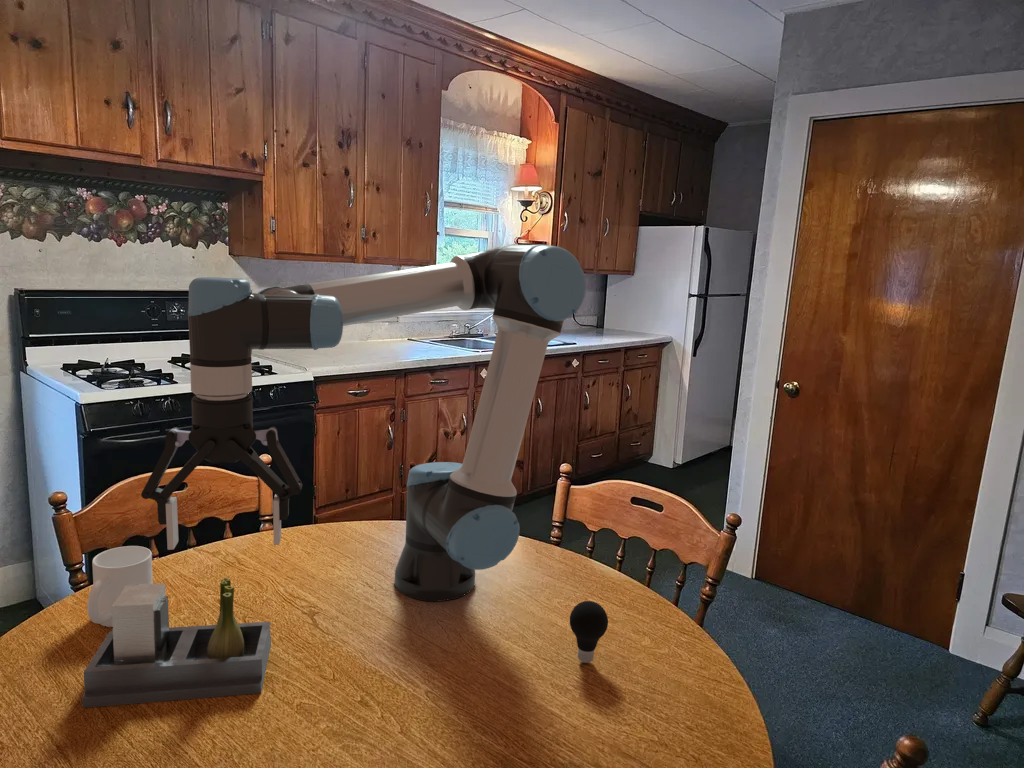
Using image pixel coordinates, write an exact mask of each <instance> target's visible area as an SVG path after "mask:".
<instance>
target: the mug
mask: <svg viewBox="0 0 1024 768" xmlns="http://www.w3.org/2000/svg"><path fill="white" fill-rule="evenodd" d="M91 566H92V580H93V581H92V583H93V584H92V586H91V589H90V591H89V594H88V597H87V605H86V608H87V609H86V610H87V616H88V618H89V620H90V621H91V622H92V623H94V624H100V625H101V626H102V627H105V626H106V627H105V628H111V627H113V623H112V605H113V604H114V602H115V601H116V599H117V598H118V596H119V595H120V593H121V592H122V591H123V589H124V588H125V586H126V585H140V584H154V582H153V580H154V579H153V578H154V577H153V553H152V551H151V550H150V549H149V548H147V547H146V546H145V547H144V546H139V545H127V546H119V547H114V548H110V549H107V550H104V551H102V552H100V553H98V554H97V555H95V556H94V557H93V558H92V565H91Z"/></svg>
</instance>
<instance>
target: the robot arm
mask: <svg viewBox="0 0 1024 768" xmlns="http://www.w3.org/2000/svg"><path fill="white" fill-rule="evenodd" d="M586 284H587V283H586V276H585V273H584V270H583V269H582V267H581V264H580V262H579V260H578V259H577V258H576V256H574V254H572V253H571V251H569V250H567V249H565V248H563V247H560V246H557V245H555V246H554V245H549V244H545V243H540V244H505V245H499V246H495V247H492V248H489V249H485V250H480V251H477V252H473V253H472V252H471V253H467V254H460V255H455V256H453V257H452V258H451V260H450V261H449V262H446V263H439V264H433V265H426V266H420V267H413V268H407V269H399V270H393V271H386V272H379V273H374V274H373V273H372V274H366V275H359V276H353V277H346V278H338V279H333V280H327V281H326V280H325V281H319V282H311V283H308V284H300V285H293V286H287V287H286V286H285V287H280V286H271V287H266V288H264V289H261V290H260V291H258V292H255V293H254V292H253V290H252V288H251V283H250V282H249V280H248V279H245V278H239V277H238V278H235V277H219V276H218V277H217V276H214V277H213V276H208V277H206V276H205V277H204V276H203V277H196V278H194V279H192V281H190V283H189V285H188V310H187V318H188V338H189V340H188V341H189V358H190V359H189V360H190V362H189V367H190V391H191V393H193V394H194V395H193V397H192V398H191V401H190V402H191V425H192V427H191V430H183V429H182V430H181V429H180V427H177V426H176V427H175V426H174V427H172V428H171V429H170V430H168V432H167V433H166V435H165V444H164V449H163V451H162V452H161V455H160V457H159V459H158V461H157V463H156V464H155V467H154V469H153V470H152V472H151V474H150V475H149V477H148V480H147V482H146V483H145V486H144V488H143V489H142V491H141V494H140V495H141V496H140V497H142V499H144V500H148V499H150V500H153V501H155V502H156V503H157V505H156V506H157V520H158V521H157V522H158V523H159V525H166V542H167V544H166V545H167V550H169V551H170V550H175V548H176V547H177V545H178V543H179V522H178V520H179V518H178V500H177V499H178V497H177V496H172V495H173V493H174V492H175V491H177V489H178V488H179V487H180V486H181V485H182V483H184V481H185V480H186V479H187V478H188V477H189V476H190V475H191V473H192V472H194V470H195V469H196V468H197V467H198V466H199V465H200V464H201V463H202V462H203V460H206V461H207V462H209V463H210V464H219V463H222V462H223V463H228V464H235V463H237V462H239V461H241V462H242V463H243V464H244V465H245V466H246V467H248V468H250V470H251V471H253V473H254V474H255V475H256V476H257V477H258V478H259V479H260V480H261V481H262V482H263V483H264V484H265V485H266V487H268V488H269V489H270V490H271V492H273V493H274V498H273V500H272V511H273V512H272V514H273V519H272V520H273V521H272V522H273V524H272V525H273V527H272V528H273V532H272V533H273V546H279V545H280V544H281V539H282V521H287V520H288V518H289V515H290V498H291V497H293V496H296V495H297V496H298V495H300V494H301V492H302V489H303V483H302V481H301V479H300V477H299V475H298V474H297V472H296V470H295V468H294V466H293V465H292V463H291V461H290V459H289V457H288V456H287V454H286V452H285V450H284V448H283V447H282V445H281V443H280V441H279V434H278V429H277V427H275V426H270V427H269V428H268V429H259V430H258V429H257V430H256V429H255V426H254V421H253V420H254V419H253V418H254V416H253V414H254V413H253V397H252V395H251V394H250V392H252V390H253V376H252V375H253V370H252V369H253V368H252V365H253V364H252V353H253V350H259V351H260V350H310V349H311V350H313V351H318V349H330V348H335V347H337V346H338V345H339V344H340V342H341V340H342V336H343V333H344V332H343V331H344V327H345V326H350V325H356V324H357V325H358V324H363V323H368V322H374V321H379V320H380V321H381V320H385V319H390V318H397V317H402V316H408V315H414V314H419V313H425V312H430V311H436V310H442V309H447V308H453V307H458V308H459V309H460V310H462V311H468V310H474V309H475V310H476V309H489V310H490V309H492V310H493V313H492V317H491V318H492V319H493V321H494V323H495V324H496V325H495V326H496V327H497V332H496V333H497V334H496V338H495V342H494V345H493V349H492V353H491V356H490V359H489V363H488V367H487V371H486V375H485V379H484V381H483V382H484V383H483V386H482V390H481V394H480V398H479V401H478V403H477V404H478V405H477V409H476V411H475V416H474V420H473V423H472V427H471V430H470V435H469V439H468V443H467V445H466V450H465V454H464V456H463V457H464V458H463V461H462V463H460V462H453V461H452V462H450V461H445V462H444V461H435V462H426V463H420V464H417V465H415V466H413V467H412V468H410V469H409V471H408V477H407V483H406V512H405V513H406V516H405V542H404V547H403V549H402V551H401V553H400V557H399V558H398V562H397V565H396V567H395V570H394V586H395V588H396V589H397V590H398V591H399V592H400V593H401V594H403V595H405V596H407V597H410V598H411V599H415V600H419V599H420V601H426V600H429V601H428V602H439V601H438V600H445V601H448V600H447V599H451V600H455V599H458V597H459V598H461V597H463V596H462V595H464V594H465V595H467V594H468V593H467V592H469V591H470V590H471V589H472V588H473V589H474V587H475V585H476V584H475V582H476V571H479V570H481V571H482V570H486V569H490V568H493V567H496V566H498V564H499V563H501V562H502V561H504V560H506V559H507V558H508V557H509V555H511V553H512V551H514V549H515V547H516V545H517V544H518V541H519V537H520V531H521V530H520V523H519V520H518V517H517V516H516V513H515V512H513V509H514V505H515V501H516V497H517V493H518V492H517V491H518V490H517V489H516V487H515V486H514V484H513V482H512V479H513V478H512V477H513V475H514V471H515V467H516V463H517V459H518V455H519V452H520V449H521V445H522V441H523V437H524V433H525V430H526V427H527V422H528V419H529V416H530V415H529V414H530V413H531V412H530V411H531V408H532V404H533V400H534V397H535V393H536V389H537V385H538V382H539V379H540V374H541V372H542V367H543V365H544V360H545V356H546V353H547V349H548V346H549V344H550V342H551V341H553V340H554V339H556V338H558V337H559V336H560V335H561V332H562V329H563V324H564V321H566V320H567V319H569V318H571V317H572V316H573V314H576V313H577V312H578V311H579V309H580V308H581V306H582V305H583V301H584V299H585V295H586V290H587V289H586ZM256 440H258V441H260V443H261V444H262V445H263V446H266V447H267V448H268V451H269V453H270V455H271V457H272V459H273V460H274V462H275V464H276V466H277V468H278V469H279V471H280V473H281V475H282V476H283V478H284V480H285V481H286V483H285V482H284V481H283V480H282V479H281V478H280V476H278V475H277V474H276V473H275V472H274V471H273V470H272V468H271V467H269V465H267V464H266V462H265V461H264V460H263V459H262V458H261V457H259V455H258V453H257V451H256V450H255V449H254V448H253V447H252V446H253V444H254V443H255V442H256ZM186 441H189V443H190V444H191V445H192V446H193V447H194V448H195V450H196V452H195V453H194V454H193V455H192V457H191V458H190V459H189V460H188V461H187V462H186V463H185V464H184V466H182V467H181V469H180V470H179V471H178V472H177V473H176V474H175V475H174V476H173V478H171V480H169V482H168V483H167V484H166V485H165V486H164V487H163V488H160V487H158V486H159V484H160V483H161V481H162V479H163V477H164V476H165V474H166V471H167V470H168V467H170V466H169V465H170V463H171V462H172V460H173V458H174V456H175V454H176V453H177V450H178V448H179V447H182V446H183V445H184V444H185V442H186ZM474 584H475V585H474ZM473 586H474V587H473ZM473 589H472V590H473ZM472 590H471V591H472ZM471 591H470V592H471ZM470 592H469V593H470ZM466 593H467V594H466ZM465 595H464V596H465ZM460 596H461V597H460ZM454 598H455V599H454ZM430 600H431V601H430Z"/></svg>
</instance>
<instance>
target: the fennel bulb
mask: <svg viewBox="0 0 1024 768" xmlns="http://www.w3.org/2000/svg"><path fill="white" fill-rule="evenodd" d="M219 586H220V588H219V589H220V590H219V594H220V595H219V596H220V597H219V599H220V600H219V615H218V618H217V622H216V624H215V625H216V627H215V629H214V631H213V633H212V636H211V638H210V641H209V643H208V647H207V654H208V657H209V659H216V658H230V657H242V656H243V654H244V639H243V635H242V632H241V629H240V627H239V625H238V624H239V622H238V621H237V619H236V617H235V613H234V600H235V598H234V595H235V588H234V586H232V584H231V579H230V578H229V577H224V578H222V579H220V585H219Z"/></svg>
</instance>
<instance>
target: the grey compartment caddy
mask: <svg viewBox="0 0 1024 768" xmlns="http://www.w3.org/2000/svg"><path fill="white" fill-rule="evenodd" d="M169 615H170V614H169V596H166V583H163V582H162V583H153V584H140V585H126V586H125V588H124V589H123V591H122V592H121V593H120V595H119V596H118V598H117V599H116V601H115V602H114V604H113V605H112V623H113V628H112V630H110V631H109V632H108V633H107V635H106V636H105V638H104V639H103V641H102V643H100V646H99V647H98V648H97V650H96V652H95V653H94V655H93V657H92V658H91V660H90V661H89V663H88V665H86V667H85V669H84V671H83V685H84V686H83V687H84V689H83V690H84V693H83V695H82V697H81V706H82V709H85V708H98V707H109V706H112V707H113V706H121V705H123V706H124V705H132V704H133V705H134V704H146V703H147V704H149V703H156V702H159V703H160V702H170V701H171V702H172V701H181V700H194V699H195V700H196V699H208V698H218V697H220V698H222V697H230V696H231V697H232V696H242V695H243V696H244V695H256V694H262V692H263V686H264V681H265V677H266V676H265V675H266V671H267V665H268V663H269V662H268V661H269V657H270V652H271V647H272V636H271V621H261V622H260V621H259V622H240V623H239V622H238V625H239V627H240V629H241V632H242V635H243V639H244V654H243V656H242V657H230V658H216V659H209V657H208V654H207V647H208V643H209V641H210V638H211V636H212V633H213V631H214V629H215V627H216V625H217V624H209V625H208V624H206V625H193V626H191V625H190V626H189V625H188V626H172V627H170V621H169V620H170V618H169V617H170V616H169Z"/></svg>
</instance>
